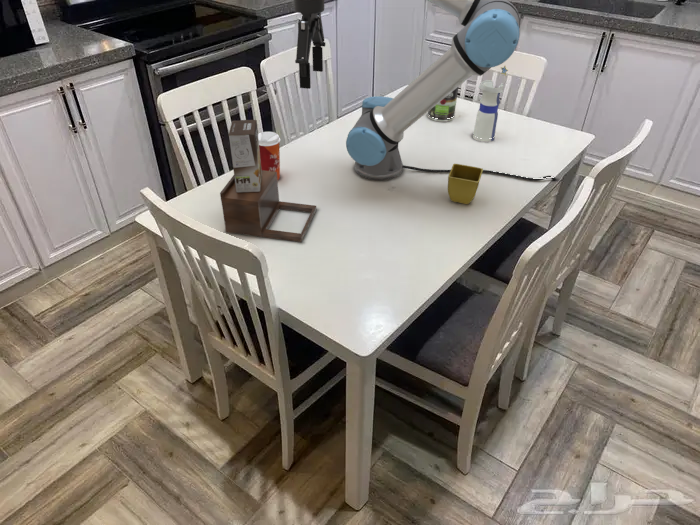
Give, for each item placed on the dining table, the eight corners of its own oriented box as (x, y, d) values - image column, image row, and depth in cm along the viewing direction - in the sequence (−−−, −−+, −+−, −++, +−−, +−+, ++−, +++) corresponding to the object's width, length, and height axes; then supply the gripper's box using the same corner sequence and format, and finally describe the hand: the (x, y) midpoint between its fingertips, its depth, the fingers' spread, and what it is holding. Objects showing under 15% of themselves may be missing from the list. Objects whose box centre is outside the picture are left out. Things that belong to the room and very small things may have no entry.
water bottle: (477, 130, 197) (488, 60, 182) (498, 136, 193) (512, 66, 178) (467, 137, 192) (478, 67, 176) (489, 144, 188) (502, 72, 173)
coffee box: (260, 192, 139) (254, 134, 129) (236, 193, 139) (228, 135, 129) (262, 175, 146) (256, 119, 136) (238, 175, 146) (231, 119, 136)
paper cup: (278, 185, 164) (275, 143, 155) (255, 182, 165) (250, 140, 156) (286, 173, 170) (283, 131, 161) (263, 170, 171) (259, 129, 162)
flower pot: (478, 194, 161) (483, 167, 155) (474, 209, 154) (479, 182, 149) (449, 189, 163) (453, 162, 158) (444, 203, 157) (447, 176, 151)
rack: (316, 210, 153) (315, 172, 146) (301, 242, 141) (299, 202, 133) (246, 201, 156) (242, 164, 149) (226, 232, 144) (219, 193, 136)
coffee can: (454, 123, 202) (459, 86, 193) (426, 120, 203) (430, 84, 194) (454, 112, 210) (459, 76, 201) (428, 110, 211) (432, 74, 202)
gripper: (307, -17, 144) (310, 63, 157) (279, 4, 124) (285, 94, 137) (334, -16, 142) (335, 65, 156) (311, 6, 123) (313, 96, 136)
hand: (311, 79), depth 147 cm, fingers open, 13 cm apart
